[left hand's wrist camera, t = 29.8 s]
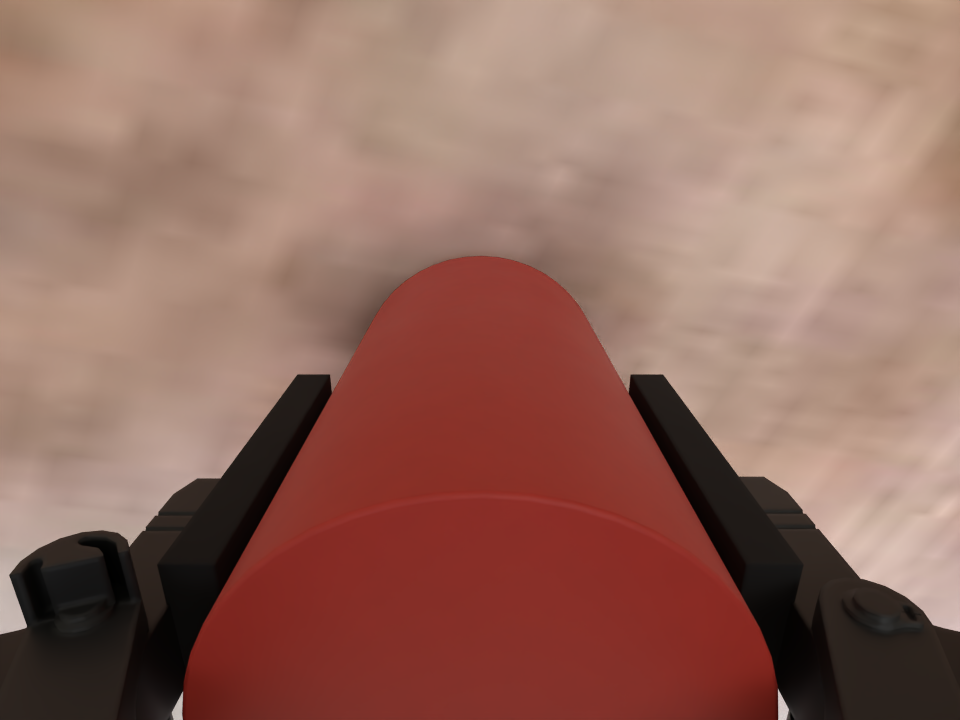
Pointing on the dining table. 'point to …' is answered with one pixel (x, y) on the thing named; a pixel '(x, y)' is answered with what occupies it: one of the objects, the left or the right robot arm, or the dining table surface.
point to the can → (480, 538)
